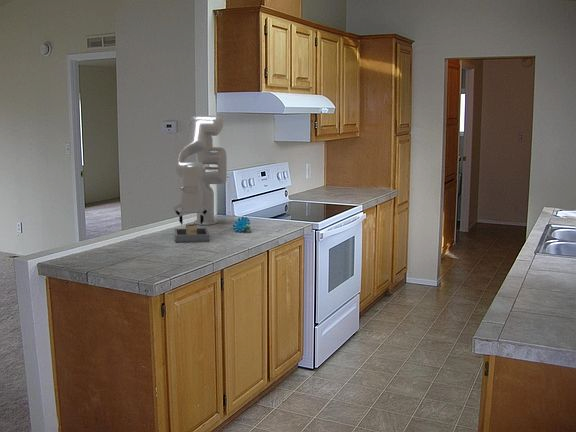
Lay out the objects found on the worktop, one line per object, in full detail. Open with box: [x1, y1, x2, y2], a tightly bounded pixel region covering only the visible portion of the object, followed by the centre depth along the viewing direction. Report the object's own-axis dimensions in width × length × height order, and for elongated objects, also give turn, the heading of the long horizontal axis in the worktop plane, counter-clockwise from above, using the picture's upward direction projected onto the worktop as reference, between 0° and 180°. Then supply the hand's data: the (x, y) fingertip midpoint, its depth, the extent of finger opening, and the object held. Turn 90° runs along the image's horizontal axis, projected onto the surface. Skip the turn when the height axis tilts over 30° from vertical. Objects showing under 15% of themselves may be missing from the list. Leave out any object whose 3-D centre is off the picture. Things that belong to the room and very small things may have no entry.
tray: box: [174, 227, 210, 244], centre depth 307 cm, size 16×16×4 cm
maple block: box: [185, 223, 198, 235], centre depth 307 cm, size 5×5×6 cm
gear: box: [232, 216, 252, 233], centre depth 327 cm, size 11×6×10 cm
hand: (191, 223), depth 307 cm, fingers open, 9 cm apart
